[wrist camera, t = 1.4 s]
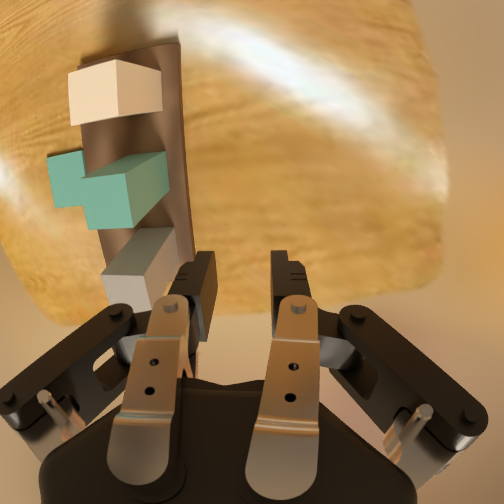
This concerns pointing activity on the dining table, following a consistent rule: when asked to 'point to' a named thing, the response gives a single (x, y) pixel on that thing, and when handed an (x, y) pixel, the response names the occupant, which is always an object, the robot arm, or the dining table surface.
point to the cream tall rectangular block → (113, 91)
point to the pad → (66, 178)
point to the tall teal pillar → (124, 190)
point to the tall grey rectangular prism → (142, 268)
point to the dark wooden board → (148, 151)
